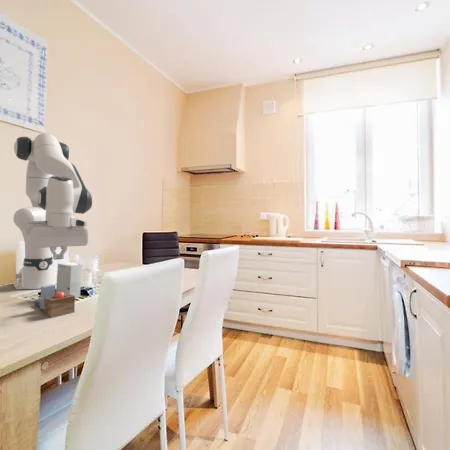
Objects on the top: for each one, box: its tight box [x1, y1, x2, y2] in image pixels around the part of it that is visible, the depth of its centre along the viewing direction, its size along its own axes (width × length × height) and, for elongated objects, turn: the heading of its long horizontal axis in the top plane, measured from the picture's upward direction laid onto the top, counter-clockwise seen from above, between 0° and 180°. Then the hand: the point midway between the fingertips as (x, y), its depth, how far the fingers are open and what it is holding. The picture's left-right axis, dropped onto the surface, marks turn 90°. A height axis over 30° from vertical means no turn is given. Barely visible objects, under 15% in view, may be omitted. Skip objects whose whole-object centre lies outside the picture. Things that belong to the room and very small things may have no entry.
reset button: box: [55, 291, 64, 299], centre depth 108 cm, size 3×3×3 cm
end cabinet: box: [43, 293, 76, 319], centre depth 108 cm, size 6×8×6 cm
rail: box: [34, 299, 42, 310], centre depth 113 cm, size 13×2×2 cm, turn 52°
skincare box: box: [55, 261, 83, 299], centre depth 128 cm, size 8×6×15 cm
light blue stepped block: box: [38, 284, 56, 311], centre depth 110 cm, size 5×4×8 cm
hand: (58, 259), depth 107 cm, fingers closed
